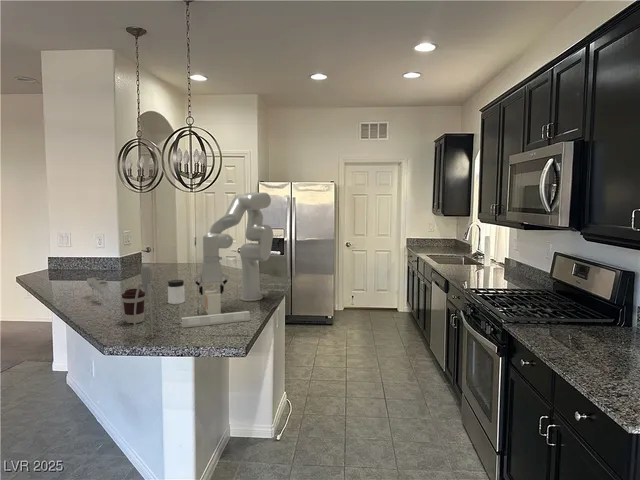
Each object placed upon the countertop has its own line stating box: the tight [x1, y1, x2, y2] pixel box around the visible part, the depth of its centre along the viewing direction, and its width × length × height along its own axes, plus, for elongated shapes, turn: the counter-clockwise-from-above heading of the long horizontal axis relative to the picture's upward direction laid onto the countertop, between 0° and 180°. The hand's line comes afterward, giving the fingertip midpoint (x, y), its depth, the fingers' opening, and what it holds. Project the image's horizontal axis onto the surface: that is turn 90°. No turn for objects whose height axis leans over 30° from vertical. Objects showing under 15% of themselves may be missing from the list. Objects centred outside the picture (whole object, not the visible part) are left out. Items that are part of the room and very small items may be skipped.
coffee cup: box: [121, 288, 146, 324], centre depth 202 cm, size 10×10×15 cm
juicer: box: [133, 263, 161, 339], centre depth 181 cm, size 10×9×30 cm
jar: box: [167, 279, 186, 305], centre depth 240 cm, size 9×8×12 cm
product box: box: [204, 289, 222, 315], centre depth 217 cm, size 6×11×10 cm, turn 21°
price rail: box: [181, 310, 251, 329], centre depth 198 cm, size 30×2×4 cm, turn 111°
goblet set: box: [86, 275, 110, 306], centre depth 246 cm, size 28×6×13 cm, turn 41°
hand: (211, 293), depth 216 cm, fingers open, 9 cm apart
